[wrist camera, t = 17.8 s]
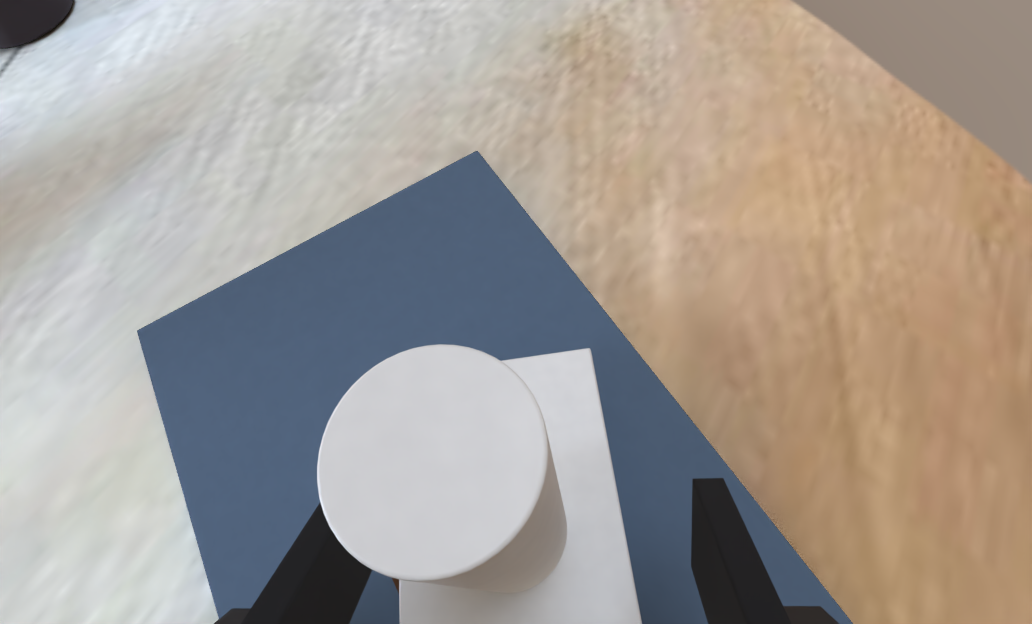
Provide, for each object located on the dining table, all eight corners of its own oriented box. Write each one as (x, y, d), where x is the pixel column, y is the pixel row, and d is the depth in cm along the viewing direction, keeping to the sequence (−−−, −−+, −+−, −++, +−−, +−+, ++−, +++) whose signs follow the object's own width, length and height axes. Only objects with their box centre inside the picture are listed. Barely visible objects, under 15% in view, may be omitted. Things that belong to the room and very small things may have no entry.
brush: (425, 745, 16) (132, 1009, 6) (416, 399, 21) (249, 197, 11) (652, 720, 16) (783, 948, 5) (590, 374, 21) (594, 142, 10)
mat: (144, 335, 25) (136, 330, 24) (478, 157, 27) (477, 149, 27) (356, 1063, 14) (348, 1078, 14) (872, 655, 17) (880, 656, 16)
